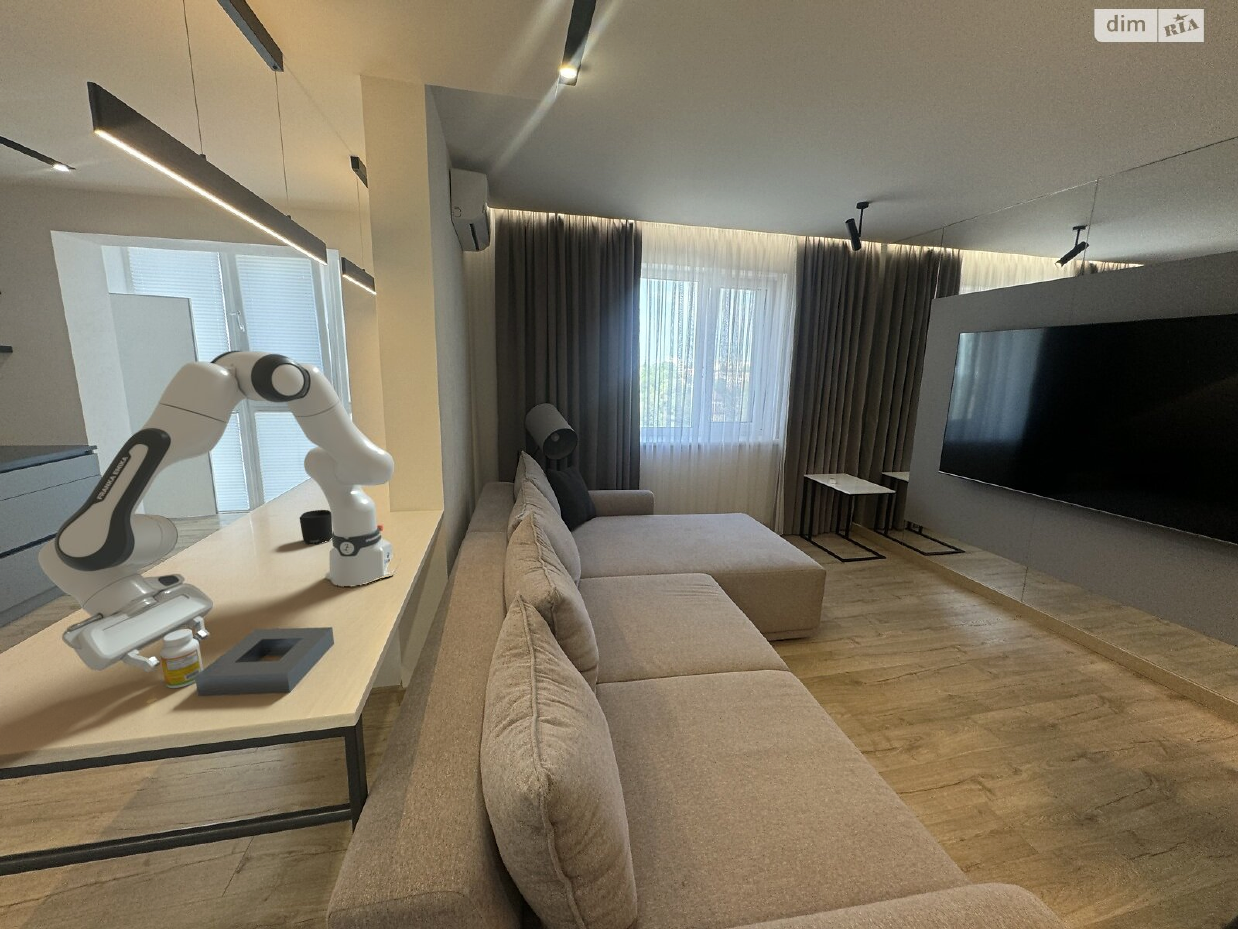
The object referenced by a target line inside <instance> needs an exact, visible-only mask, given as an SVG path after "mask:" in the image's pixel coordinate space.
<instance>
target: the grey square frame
mask: <svg viewBox="0 0 1238 929" xmlns="http://www.w3.org/2000/svg"><path fill="white" fill-rule="evenodd" d="M333 631H334V629H333V627H332V626H331V627H327V626H326V627H322V626H321V627H295V628H294V627H293V628H291V627H290V628H289V627H287V628H256V629H254V630H252V631H251V632H250V633H248V634H247V635H246V636H244V637H243V638H242V639H241V640H239V641H238V642H237V643H236V644H235V645H232V647H230V649H228V650H227V651H226V652H224V653H223V654H222V655H220V656H219V657H218V658H216V659H215V660H214V661H213V662H212V663H210V664H209V665H208V666H206V667H205V668H203V669H204V670H203V671H201V672H200V673H199V674H198V675H196V676H195V681H196V682H195V685H196V691H197V692H196V693H197V696H198V697H205V696H208V697H209V696H211V697H212V696H230V695H231V696H234V695H257V694H281V693H283V694H284V693H285V694H286V693H291V692H292V690H293V689H295V688H296V686H297V685H298V684H299V683H300V682H301V681H302V680H303V678H305V676H306V675H307V674H308V673H309V672H310V671H311V670H312V669H313V667H315V665H316V664H317V663H319V661H320V660H321V659H322V658H323V657H324V655H325V654H326V653H327V652H328V651H329V650H331V648H332V647H333V646H334V644H335V639H334V632H333ZM264 657H281V658H280V659H279V660H272V661H270V660H269V661H267V660H266V661H261V660H263V658H264Z"/></svg>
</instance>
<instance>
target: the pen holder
mask: <svg viewBox="0 0 1238 929" xmlns="http://www.w3.org/2000/svg"><path fill="white" fill-rule="evenodd" d="M299 524H300V529H301V535H302V540H303V541H302V542H303V543H304V544H305V545H309V544H315V545H320V544H319V543H322V542H325V541H328V542H330V541H331V540H332V539H331V538H332V534H333V524H332V517H331V510H329V509H316V510H310V511H306V512H304V513H302V514H301V515H300V517H299ZM330 539H331V540H330ZM329 540H330V541H329ZM325 543H326V542H325ZM322 544H323V543H322Z"/></svg>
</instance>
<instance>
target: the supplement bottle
mask: <svg viewBox="0 0 1238 929" xmlns="http://www.w3.org/2000/svg"><path fill="white" fill-rule="evenodd" d="M193 636H194V635H193V631H192V629H191V628H190V629H189V628H181V629H179V630H177V631H174V632H171V633H169V634H167V635H166V636H165V637H164V638H162V640H163V646H164V647H163V648H162V649H161V650H160V658H161V665H162V669H163V675H164V676H163V677H164V681H165V684H166V687H168V688H171V689H178V688H182V687H183V688H184V687H186V686H190V685H191V684H194V683H196V681H195V676H196V675H198V674H199V673H200V672H201V671H203V670H204V669H205V668H204V665H203V659H202V654H201V653H202V652H201V647H200V644H199V642H198V641H197V640H196V639H194V638H193Z"/></svg>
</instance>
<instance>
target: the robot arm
mask: <svg viewBox="0 0 1238 929" xmlns="http://www.w3.org/2000/svg"><path fill="white" fill-rule="evenodd" d="M330 382H331V381H329V379H328V378H327V377H326V375H325V374H324V373H323V372H322V371H321V370H320V369H319V367H317V366H316V365H314V364H313V363H308V362H297V361H296V360H294V359H292V358H291V357H288V356H286V355H283V354H279V353H270V352H267V351H260V350H258V351H257V350H252V351H246V350H245V351H244V350H231V351H226V352H223V353H222V354H219V355H217V356H216V357H214V359H212V361H209V362H208V361H200V360H199V361H190V362H187V363H186V364H184V365H182V367H180V369H179V370H178V371H177V372H176V374H175V375H174V376H173V377H172V379H171V380H170V382H169V383H168V384H167V386H166V387H165V390H164V391H163V393H162V394H161V397H160V398H159V401H158V402H157V405H156V406H155V408H154V410H153V412H152V414H151V415H150V416H149V418H148V419H147V421H146V423H145V424H144V425H143V426H142V427H141V428H140V429H139V430H138V431H136V432H135V433H134V434H133V435H131V437H130V438H128V439H127V440H126V442H125V443H124V444H123V446H122V447H121V448H120V450H119V451H118V452H117V454H116V456H115V457H114V458H113V460H112V461H111V463H110V464H109V466H108V467H107V469H106V471H105V472H104V473H103V475H102V477H101V478H100V480H99V481H98V482H97V484H96V485H95V487H94V488H93V490H92V492H91V493H90V495H89V497H88V498H87V500H86V501H85V502H84V503H83V505H82V506H80V508H79V509H78V510H77V511H76V512H74V513H73V514H72V515H71V516H70V517H69V518H67V520H65V521H64V522H63V523H62V524H61V526H60V527H59V529H57V532H56V535H55V537H53V538H52V539H50V540H49V541H48V542H47V543H46V544H45V545H43V547H42V548H40V550H39V553H38V556H37V559H38V563H39V566H40V567H41V569H42V571H43V573H45V575H46V576H47V577H48V579H50V580H51V581H52V583H53V584H55V585H56V587H58V588H59V589H60V590H61V591H62V592H63V593H65V594H67V595H69V596H72V597H73V598H74V599H76V600H77V601H78V603H79V605H80V608H81V609H82V610H84V611H85V613H87V614H88V615H89V616H90V617H87V618H86V619H84V620H82V621H80V622H76V623H74V624H71V625H69V626H68V627H66V630H65V631H64V632H62V635H61V640H62V641H63V642H64V643H65V644H66V645H67V646H68V647H70V648H71V649H73V650H74V652H75V654H76V655H77V656H78V658H79V659H80V660H81V661H82V662H83V664H84V665H85V666H86V667H87V668H89V669H90V670H91V671H92V670H93V671H103V670H105V669H107V668H109V667H111V666H113V665H114V664H116V663H118V662H120V661H121V662H122V663H123V664H125V665H128V666H132V667H137V668H138V667H139V668H141V669H142V670H143V671H144V672H146V673H150V672H151V671H153V670H155V669H157V668H158V667H159V666H160V664H161V662H160V660H159V659H157V657H156V656H151V657H149V658H148V657H145V656H142V655H139V654H140V651H141V650H143V649H145V648H147V647H149V646H151V645H152V644H155V643H156V642H158V641H160V640H163V638H164V637H165V636H166V635H167V634H169V633H171V632H174V631H177V630H182V629H184V628H185V627H186V626H188V627H189V628H190V630H192V629H193V628H194V632H195V634H194V635H193V638H192V639H196V640H197V641H198V642H199V643H202V642H204V641H205V640H207V639H208V638H209V637H210V636H211V634H210V632H209V631H208V630H206V628H205V621H204V620H205V619H204V617H206V616H207V614H209V612H210V611H212V610H213V608H214V602H213V600H212V599H211V598H210V597H209V596H208V595H207V594H206V593H205V592H203V591H202V590H201V589H200V588H198V587H197V586H195V585H194V584H191V583H188V582H187V583H184V582H185V580H186V579H185V577H184V576H183V575H182V574H180V573H172V574H167V575H157V576H146V577H144V576H143V575H142V574H141V573H140V570H141V569H143V568H146V567H148V566H150V565H152V564H154V563H155V562H157V561H159V560H160V559H162V558H164V557H166V556H167V555H168V554H170V553H171V552H172V551H173V550H174V548H175V546H177V545H176V544H177V542H178V538H179V537H178V534H179V533H178V529H177V527H176V525H175V524H174V523H173V522H172V520H170V519H169V518H167V517H165V516H163V515H158V514H150V513H149V514H147V513H136V510H138V508H139V506H140V504H141V503H142V502H143V499H144V498H145V496H146V494H147V493H148V491H149V489H150V488H151V486H152V484H153V483H154V482H155V479H156V478H158V475H159V474H160V473H162V472H163V471H164V470H165V469H166V468H168V467H171V465H173V464H176V463H179V462H183V461H184V460H189V459H193V458H197V457H201V456H203V455H205V454H207V453H209V452H211V451H213V449H214V448H215V447H216V446H217V444H218V443H219V442H220V440H221V439H222V437H223V435H224V434H225V431H226V429H227V427H228V424H229V421H230V419H231V416H232V414H233V411H234V409H235V408H236V406H237V405H238V404H239V403H240V402H241V401H243V400H245V399H246V400H251V401H256V402H271V403H286V404H287V407H288V408H289V410H290V412H291V414H292V416H293V417H294V419H295V420H296V422H297V424H298V425H299V428H301V430H302V432H303V434H304V436H305V437H306V438H307V440H309V441H310V442H311V443H312V444H314V445H315V446H316V447H313V448H310V450H309V451H308V452H307V453H306V454H305V456H304V461H303V468H304V471H305V472H306V474H307V475H308V477H310V478H312V480H314V482H316V484H318V486H319V487H320V489H321V491H322V493H323V495H324V496H325V498H326V502H327V503H328V507H329V509H330V510H329V511H330V512H331V517H332V539H331V541H332V547H333V548H331V549H330V551H329V572H327V573H326V574H325V579H327V580H329V581H331V583H332V584H333V585H334V586H337V585H338V587H344V586H350V587H352V586H351V585H360V584H363V583H366V582H370V581H373V580H374V579H376V578H380V577H382V576H384V575H389V574H392V573H393V572H394V570H393V571H391V572H392V573H390V572H387V567H388V565H389V562H390V561H391V558H392V557H393V554H394V552H393V546H392V543H391V542H389V541H388V540H386V539H384V538H383V537H382V535H381V534H382V533H381V532H383V530H384V525H383V524H382V523H381V524H378V521H377V520H378V519H377V518H378V517H377V508H376V503H375V501H374V499H372V498H371V497H370V496H369V495H368V494H367V493H366V492H365V491H364V490H363V488H362V487H373V486H380V485H381V486H382V485H385V484H386V483H388V482H390V480H391V478H393V475H394V472H395V462H394V458H393V457H392V455H391V454H390V453H389V452H388V451H385V449H382V448H380V447H379V446H377V445H376V444H375V443H374V442H372V441H371V440H370V439H369V438H368V437H367V436H366V435H365V434H364V433H363V432H361V430H360V429H359V428H358V427H357V425H356V424H355V423H354V422H353V420H352V418H350V417H351V416H349V414H348V412H347V410H346V408H345V407H344V405H343V403H342V401H341V399H340V397H339V396H338V393H337V392H336V390H335V388H334V387H333V384H332V383H330ZM360 586H361V585H360Z"/></svg>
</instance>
